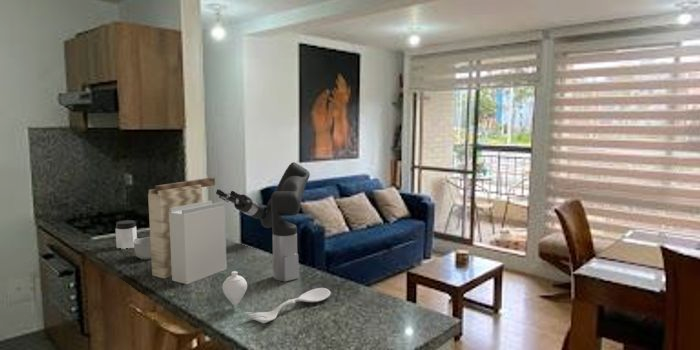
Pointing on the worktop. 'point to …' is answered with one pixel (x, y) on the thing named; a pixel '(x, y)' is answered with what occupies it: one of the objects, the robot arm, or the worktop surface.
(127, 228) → the jar
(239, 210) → the robot arm
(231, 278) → the spinning top
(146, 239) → the teacup
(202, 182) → the walnut bar
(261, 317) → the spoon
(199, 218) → the white upright box
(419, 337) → the worktop surface
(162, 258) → the tall stand
